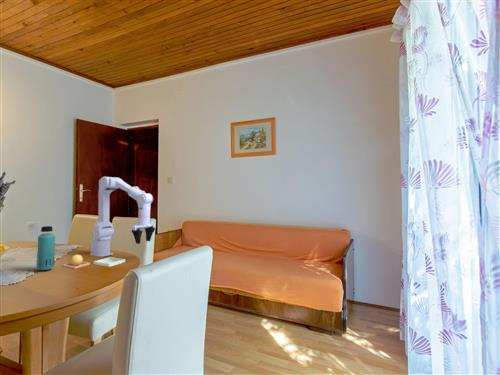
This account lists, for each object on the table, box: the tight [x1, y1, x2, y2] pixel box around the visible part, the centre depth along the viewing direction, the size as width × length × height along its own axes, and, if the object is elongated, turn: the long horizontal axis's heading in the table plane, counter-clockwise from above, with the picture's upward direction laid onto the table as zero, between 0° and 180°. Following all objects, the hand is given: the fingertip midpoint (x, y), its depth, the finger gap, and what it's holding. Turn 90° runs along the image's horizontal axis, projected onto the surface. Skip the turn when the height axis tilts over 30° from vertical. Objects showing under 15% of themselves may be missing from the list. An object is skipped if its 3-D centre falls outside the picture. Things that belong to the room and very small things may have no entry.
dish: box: [61, 261, 91, 270], centre depth 130 cm, size 8×8×1 cm
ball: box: [69, 254, 84, 266], centre depth 130 cm, size 5×5×5 cm
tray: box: [93, 256, 126, 268], centre depth 136 cm, size 10×10×2 cm
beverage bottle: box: [35, 225, 56, 271], centre depth 121 cm, size 6×7×20 cm
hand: (143, 242), depth 142 cm, fingers open, 7 cm apart
